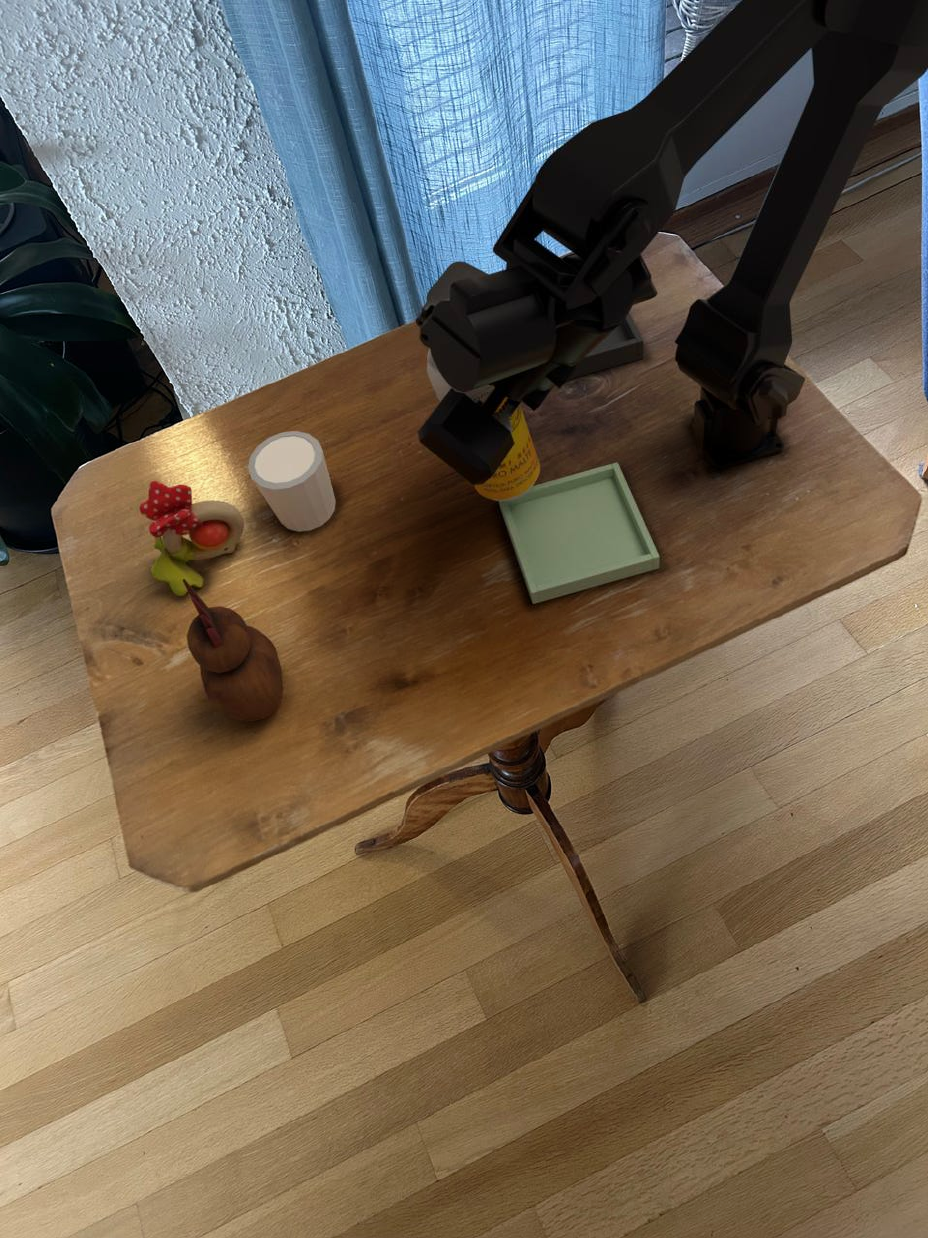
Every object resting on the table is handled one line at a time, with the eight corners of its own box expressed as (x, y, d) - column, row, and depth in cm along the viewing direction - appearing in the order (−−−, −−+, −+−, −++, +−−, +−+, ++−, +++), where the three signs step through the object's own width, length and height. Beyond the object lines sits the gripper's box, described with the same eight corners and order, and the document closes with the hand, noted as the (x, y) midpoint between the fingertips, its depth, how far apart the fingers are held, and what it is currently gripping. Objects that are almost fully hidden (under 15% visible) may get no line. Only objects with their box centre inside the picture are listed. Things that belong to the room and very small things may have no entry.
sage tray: (617, 474, 90) (617, 461, 89) (659, 568, 84) (659, 556, 83) (500, 507, 90) (497, 495, 89) (532, 604, 84) (531, 593, 83)
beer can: (494, 517, 86) (441, 387, 74) (465, 477, 90) (410, 348, 78) (554, 482, 86) (510, 347, 75) (522, 444, 90) (476, 311, 79)
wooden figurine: (227, 667, 85) (156, 566, 73) (292, 657, 85) (231, 554, 72) (223, 737, 82) (147, 644, 69) (291, 727, 81) (227, 631, 69)
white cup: (331, 539, 91) (310, 490, 86) (262, 534, 93) (237, 486, 87) (350, 482, 95) (331, 431, 89) (283, 478, 96) (260, 428, 91)
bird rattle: (226, 540, 96) (131, 558, 92) (231, 449, 88) (128, 464, 84) (249, 584, 93) (152, 605, 88) (257, 494, 85) (151, 511, 81)
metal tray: (611, 294, 104) (610, 276, 102) (643, 358, 98) (643, 340, 96) (508, 324, 104) (505, 306, 102) (534, 389, 98) (532, 371, 96)
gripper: (532, 166, 71) (453, 279, 85) (394, 340, 64) (333, 431, 78) (648, 269, 73) (552, 363, 87) (527, 449, 66) (443, 519, 80)
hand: (472, 414), depth 83 cm, fingers closed on beer can, 6 cm apart
